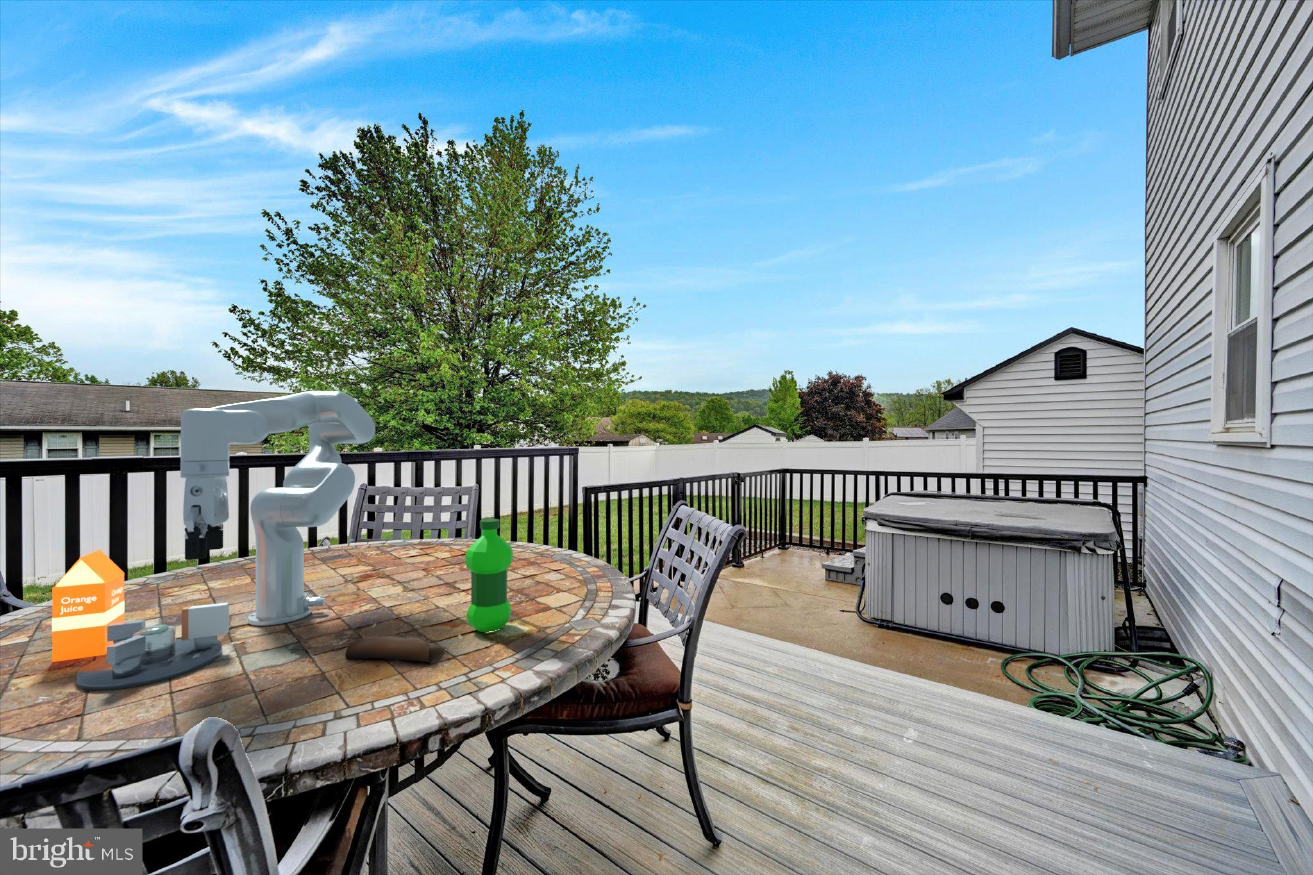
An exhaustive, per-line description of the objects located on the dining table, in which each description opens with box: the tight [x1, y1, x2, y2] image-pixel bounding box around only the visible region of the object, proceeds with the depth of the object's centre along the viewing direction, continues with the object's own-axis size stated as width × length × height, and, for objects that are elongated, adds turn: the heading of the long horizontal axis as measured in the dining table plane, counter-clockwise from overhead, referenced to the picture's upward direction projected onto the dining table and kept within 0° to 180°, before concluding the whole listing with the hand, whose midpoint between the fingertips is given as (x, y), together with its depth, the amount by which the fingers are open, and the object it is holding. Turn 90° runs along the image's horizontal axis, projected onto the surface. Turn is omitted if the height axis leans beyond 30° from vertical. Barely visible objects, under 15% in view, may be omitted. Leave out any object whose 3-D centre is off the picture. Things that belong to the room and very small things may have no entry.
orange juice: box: [51, 549, 125, 663], centre depth 107 cm, size 8×9×20 cm
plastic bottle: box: [464, 518, 514, 632], centre depth 119 cm, size 10×10×25 cm
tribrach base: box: [76, 619, 223, 692], centre depth 100 cm, size 20×20×8 cm
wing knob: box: [181, 601, 230, 649], centre depth 106 cm, size 7×4×8 cm, turn 116°
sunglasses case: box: [345, 635, 448, 665], centre depth 105 cm, size 18×7×7 cm, turn 83°
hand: (204, 553), depth 105 cm, fingers open, 9 cm apart
